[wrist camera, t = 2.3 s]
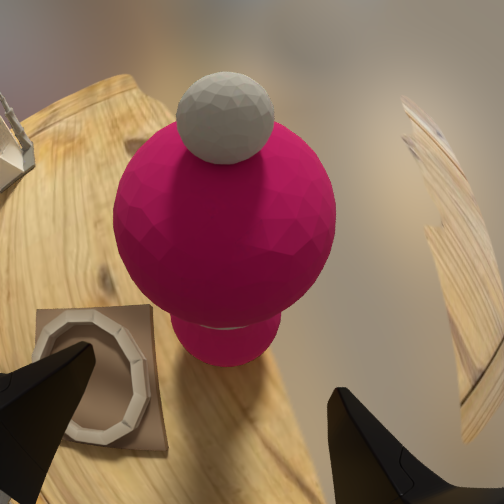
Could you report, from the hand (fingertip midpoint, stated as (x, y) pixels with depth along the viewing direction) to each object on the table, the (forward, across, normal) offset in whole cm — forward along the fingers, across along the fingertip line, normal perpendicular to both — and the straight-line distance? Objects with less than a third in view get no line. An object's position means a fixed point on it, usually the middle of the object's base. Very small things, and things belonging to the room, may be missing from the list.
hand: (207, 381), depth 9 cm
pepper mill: (+12, 0, +6) cm, 13 cm away
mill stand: (+7, +11, +11) cm, 17 cm away
